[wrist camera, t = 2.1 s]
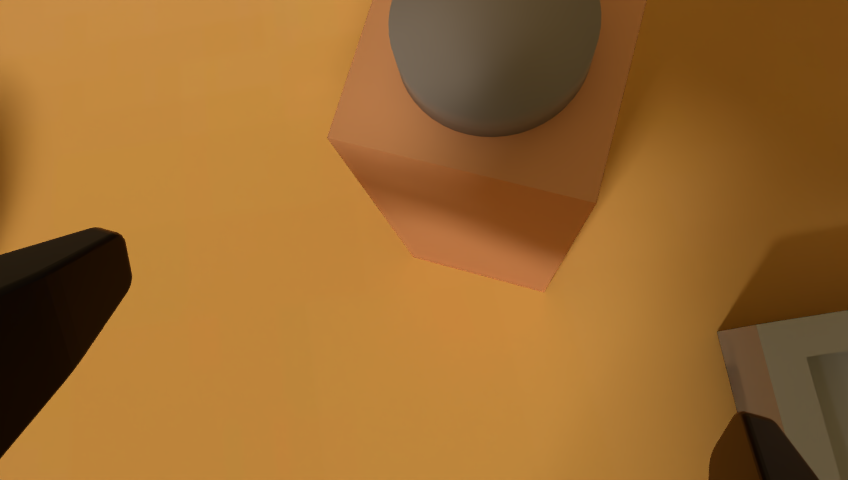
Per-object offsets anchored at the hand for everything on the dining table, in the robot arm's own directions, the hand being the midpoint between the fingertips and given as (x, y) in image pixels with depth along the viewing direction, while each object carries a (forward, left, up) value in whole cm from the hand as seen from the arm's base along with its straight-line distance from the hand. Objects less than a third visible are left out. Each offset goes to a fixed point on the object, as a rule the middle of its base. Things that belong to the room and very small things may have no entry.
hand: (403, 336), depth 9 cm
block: (+2, +5, -12) cm, 13 cm away
